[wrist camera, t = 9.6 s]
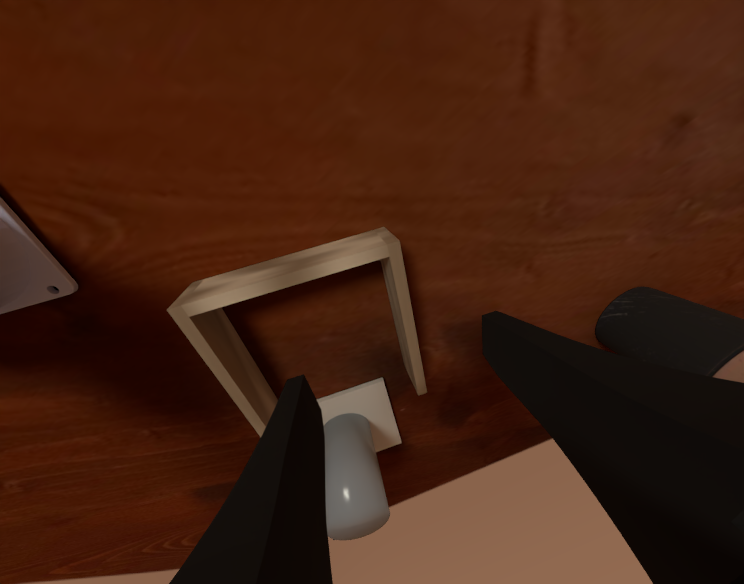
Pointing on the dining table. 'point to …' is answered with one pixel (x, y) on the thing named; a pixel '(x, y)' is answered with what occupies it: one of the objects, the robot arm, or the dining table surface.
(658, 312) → the travel mug
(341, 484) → the grey domed cylinder
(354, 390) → the coaster
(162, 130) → the dining table surface
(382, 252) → the frame
